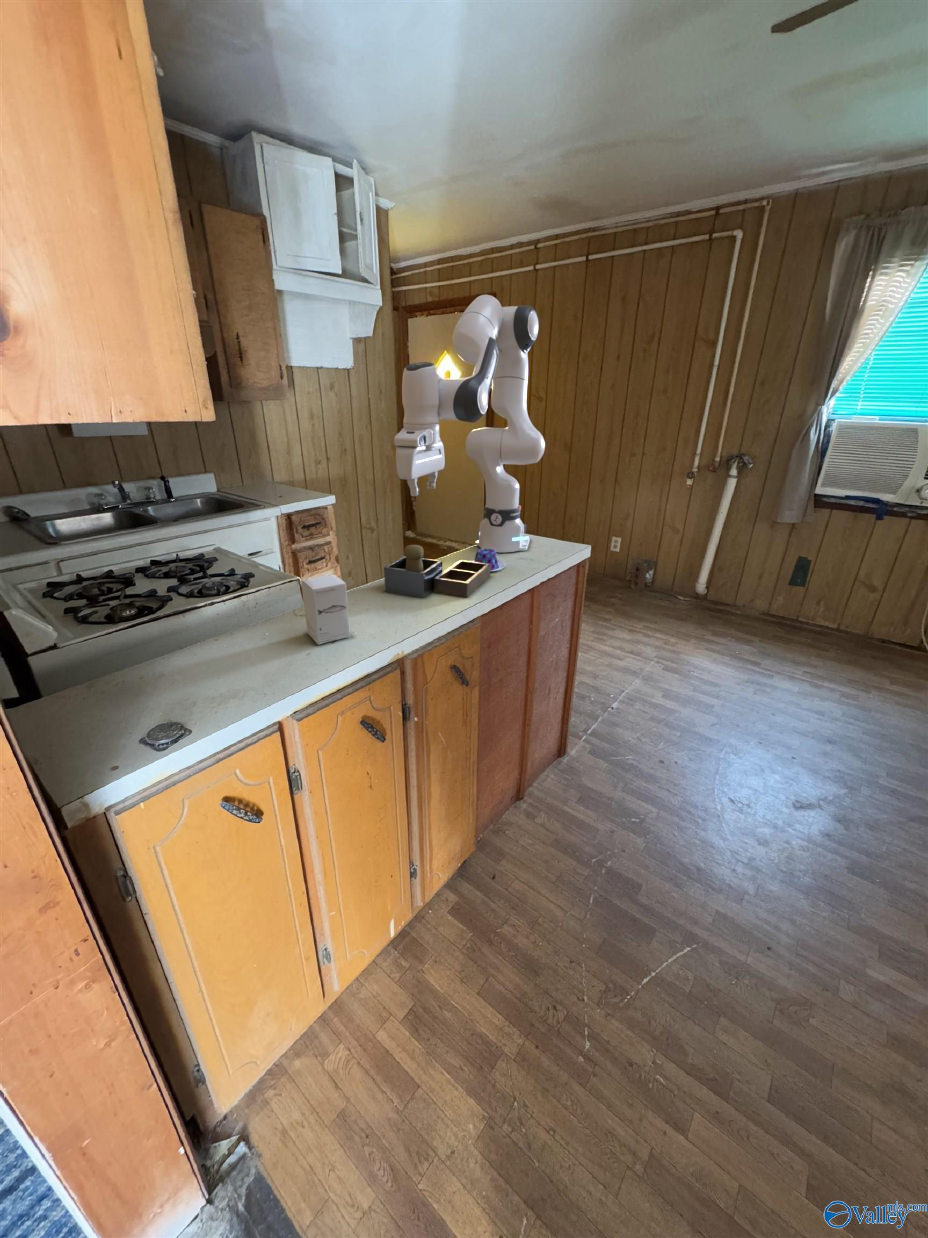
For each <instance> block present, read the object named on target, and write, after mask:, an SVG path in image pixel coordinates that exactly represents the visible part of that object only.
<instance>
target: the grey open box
mask: <svg viewBox="0 0 928 1238" xmlns="http://www.w3.org/2000/svg"><path fill="white" fill-rule="evenodd" d="M406 559H407V558H406V557H405V555H404V556H402V557H401V558H398V559H397V560H394V561H393V562H391V563H390V564H388V565H386V566H384V567H383V574H384V577H383V578H384V592H386V593H390V594H397V595H403V596H408V597H409V596H410V597H416V598H420V599H421V598H422V599H425V598H426V597H427V596H429V595H430V594H431V593H434V578H435V577H437V576H438V575H439V574H441V573H442V572H443V560H440V559H439V560H438V559H432V558H424V557H422V562H423V569H424V571H423V572H418V571H411V570H405V569H406Z"/></svg>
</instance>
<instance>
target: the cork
mask: <svg viewBox="0 0 928 1238" xmlns="http://www.w3.org/2000/svg"><path fill="white" fill-rule="evenodd" d="M424 553H425V552H424V548H423V546H421V545H418V544H409V545H406V546H405V547H404V551H403V555H404V556H405V557H406V558H407V559H406V569H405V570H411V571H418V572H423V571H424V569H423V562H422V558H424Z"/></svg>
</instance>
